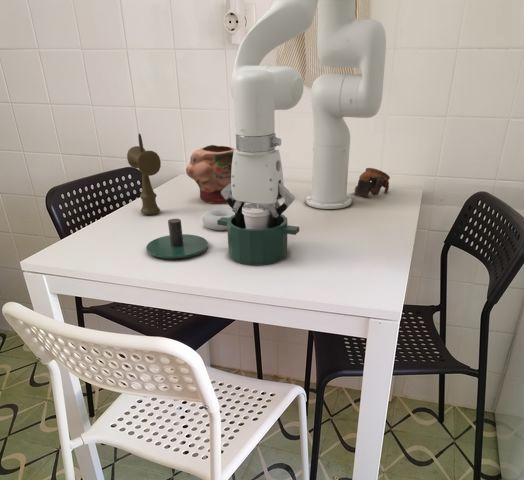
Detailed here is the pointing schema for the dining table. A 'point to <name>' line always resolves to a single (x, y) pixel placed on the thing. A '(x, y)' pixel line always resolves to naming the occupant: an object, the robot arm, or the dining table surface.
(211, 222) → the donut
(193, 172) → the sculpted ceramic jug
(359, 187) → the brown piece
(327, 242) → the dining table surface
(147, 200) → the kendama
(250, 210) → the smoothie
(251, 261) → the pot
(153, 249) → the lid
